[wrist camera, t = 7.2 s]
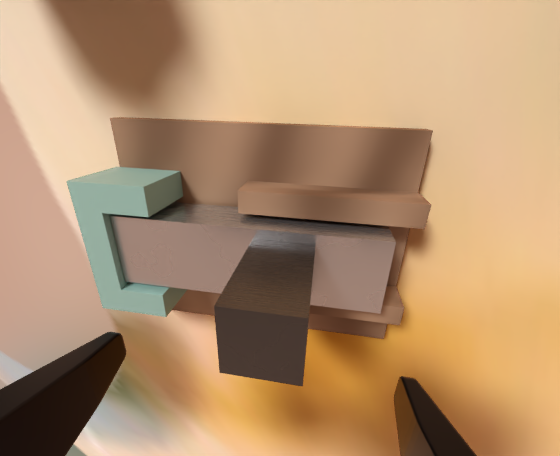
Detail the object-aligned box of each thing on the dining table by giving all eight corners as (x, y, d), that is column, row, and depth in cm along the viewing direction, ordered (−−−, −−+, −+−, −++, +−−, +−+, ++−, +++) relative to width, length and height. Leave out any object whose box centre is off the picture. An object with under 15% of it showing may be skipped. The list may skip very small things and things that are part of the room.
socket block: (180, 170, 16) (143, 186, 13) (193, 281, 19) (166, 316, 16) (116, 166, 16) (66, 181, 13) (139, 275, 20) (103, 307, 16)
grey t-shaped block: (384, 219, 15) (435, 321, 8) (372, 281, 16) (405, 413, 9) (143, 199, 17) (6, 266, 10) (153, 257, 18) (43, 351, 11)
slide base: (425, 129, 14) (449, 134, 11) (380, 327, 19) (389, 364, 16) (122, 117, 16) (80, 119, 14) (156, 298, 21) (131, 325, 19)
